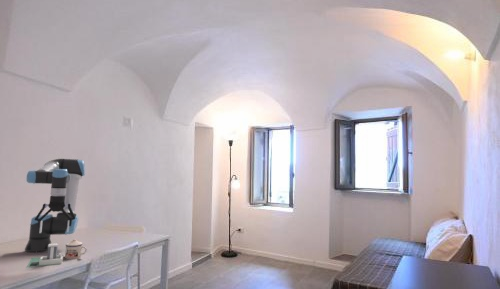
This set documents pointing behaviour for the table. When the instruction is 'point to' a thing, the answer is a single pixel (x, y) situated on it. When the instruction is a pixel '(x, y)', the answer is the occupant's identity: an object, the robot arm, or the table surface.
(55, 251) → the plug
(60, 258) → the header
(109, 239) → the table surface
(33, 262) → the board
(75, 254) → the teacup with lid
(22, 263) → the table surface
